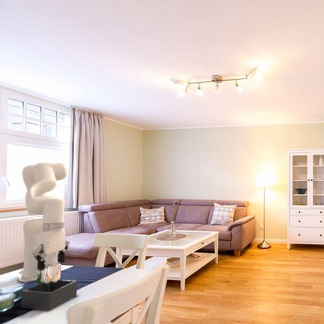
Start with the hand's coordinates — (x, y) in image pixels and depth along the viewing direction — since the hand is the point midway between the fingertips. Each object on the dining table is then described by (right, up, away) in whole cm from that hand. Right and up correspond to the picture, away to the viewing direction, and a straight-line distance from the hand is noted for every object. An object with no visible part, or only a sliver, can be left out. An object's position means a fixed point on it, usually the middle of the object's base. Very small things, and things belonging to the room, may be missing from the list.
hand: (51, 265), depth 119 cm
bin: (0, -15, -1) cm, 15 cm away
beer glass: (0, -14, -1) cm, 15 cm away
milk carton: (-13, -16, +15) cm, 26 cm away
